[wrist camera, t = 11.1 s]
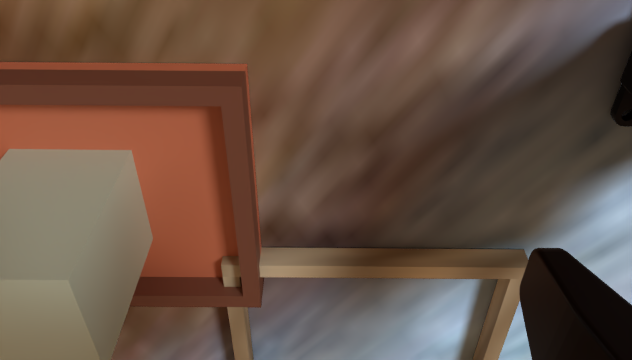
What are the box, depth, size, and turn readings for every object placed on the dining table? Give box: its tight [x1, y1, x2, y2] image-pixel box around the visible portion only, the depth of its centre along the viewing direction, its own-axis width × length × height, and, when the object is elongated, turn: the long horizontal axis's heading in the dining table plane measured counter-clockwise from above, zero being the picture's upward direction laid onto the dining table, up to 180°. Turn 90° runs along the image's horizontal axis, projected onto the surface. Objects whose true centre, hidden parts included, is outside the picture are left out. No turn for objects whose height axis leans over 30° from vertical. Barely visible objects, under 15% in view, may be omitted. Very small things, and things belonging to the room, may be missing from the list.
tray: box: [0, 62, 264, 307], centre depth 23 cm, size 15×12×2 cm
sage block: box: [0, 149, 153, 360], centre depth 21 cm, size 5×5×7 cm
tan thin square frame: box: [221, 247, 528, 360], centre depth 30 cm, size 15×15×1 cm
